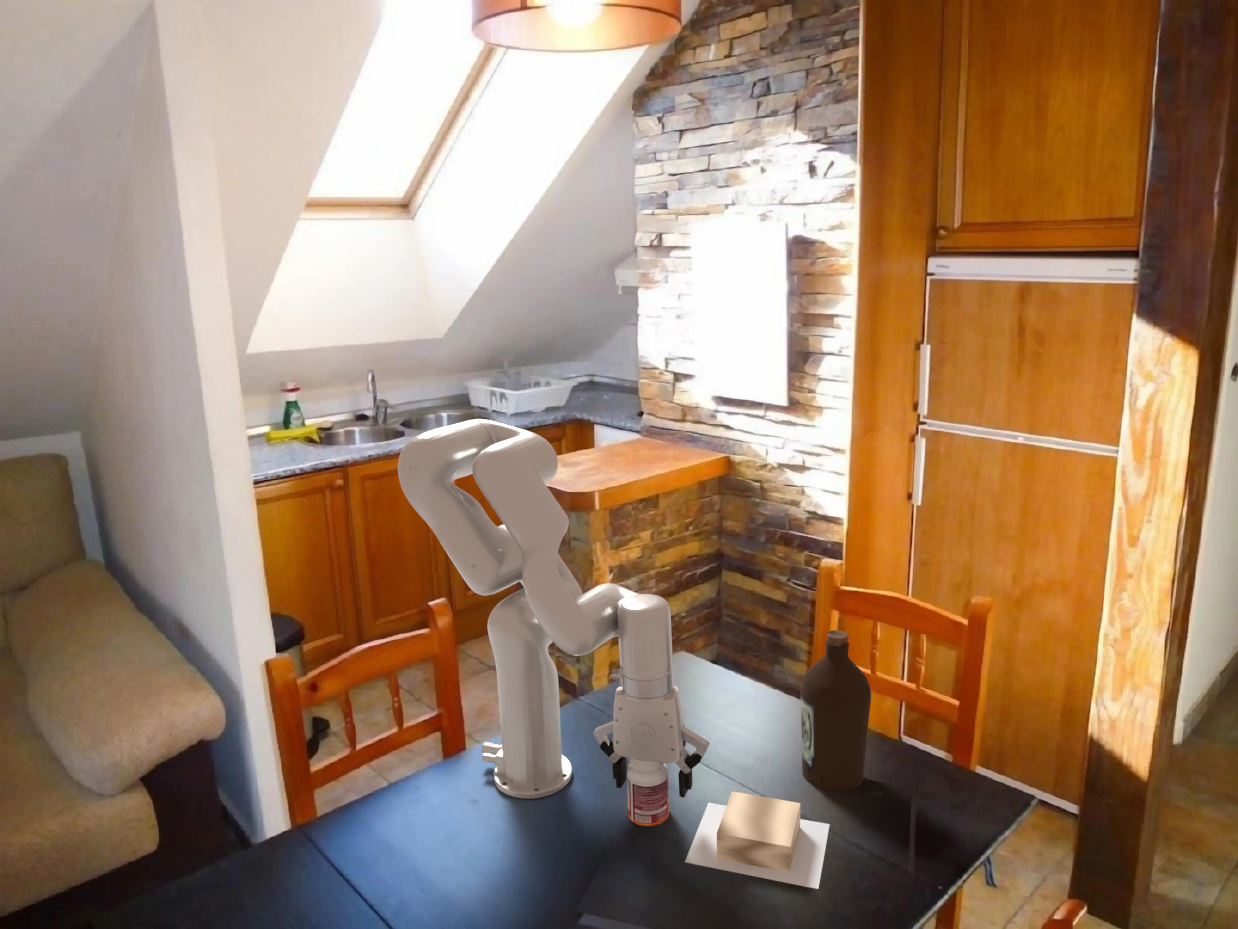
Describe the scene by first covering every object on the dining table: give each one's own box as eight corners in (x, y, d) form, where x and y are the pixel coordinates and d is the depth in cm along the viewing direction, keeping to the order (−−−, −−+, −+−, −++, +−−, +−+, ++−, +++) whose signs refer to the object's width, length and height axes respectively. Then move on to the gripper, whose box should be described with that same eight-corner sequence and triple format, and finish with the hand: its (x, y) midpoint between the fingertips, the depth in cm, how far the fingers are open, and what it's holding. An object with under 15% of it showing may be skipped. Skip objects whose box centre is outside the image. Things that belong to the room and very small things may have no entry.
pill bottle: (677, 821, 133) (676, 753, 130) (643, 837, 130) (641, 767, 127) (653, 801, 138) (651, 735, 135) (619, 815, 135) (617, 748, 132)
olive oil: (859, 761, 147) (865, 619, 141) (873, 800, 137) (880, 649, 131) (794, 760, 148) (797, 619, 142) (803, 799, 138) (807, 649, 132)
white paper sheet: (684, 868, 123) (684, 862, 123) (708, 808, 136) (708, 802, 136) (818, 895, 118) (818, 889, 117) (829, 830, 130) (829, 824, 130)
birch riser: (716, 858, 124) (716, 833, 123) (731, 815, 133) (731, 791, 132) (789, 873, 120) (790, 847, 119) (799, 827, 130) (800, 803, 129)
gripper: (581, 686, 128) (589, 794, 132) (699, 699, 122) (704, 811, 126) (599, 664, 135) (606, 766, 138) (712, 675, 129) (716, 781, 133)
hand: (652, 787), depth 132 cm, fingers open, 9 cm apart
